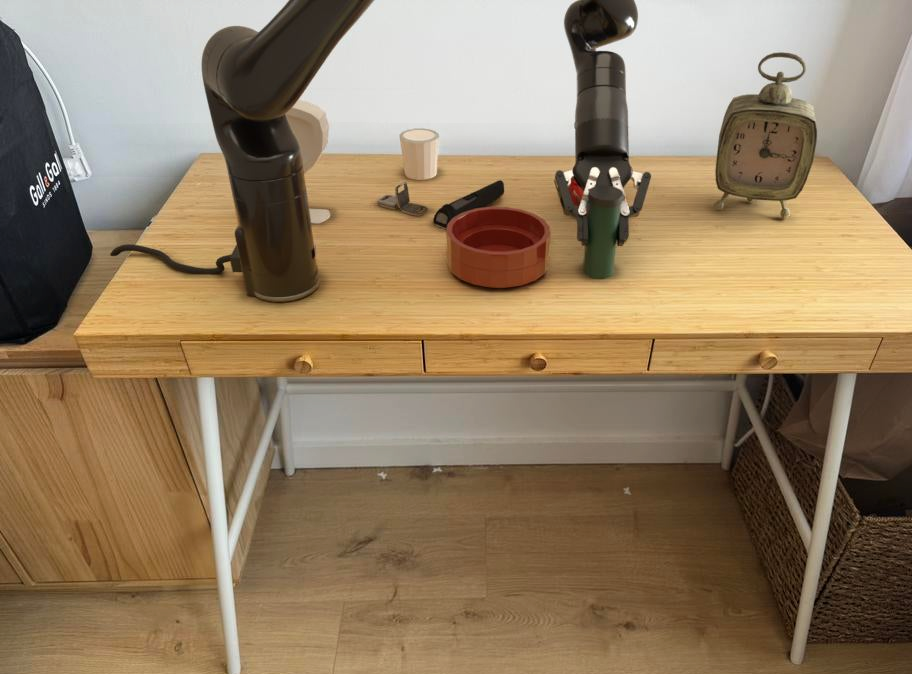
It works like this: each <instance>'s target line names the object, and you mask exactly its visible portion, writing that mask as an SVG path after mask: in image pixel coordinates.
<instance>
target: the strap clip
mask: <svg viewBox="0 0 912 674" xmlns="http://www.w3.org/2000/svg"><path fill="white" fill-rule="evenodd" d="M402 186H403V189H402V190H400V191H399V188H401V187H402ZM410 201H411V200H410V193H409V187H408V183H407V181H402V182H401V183H399V184H397V185H396V186H395V188H394V194H385V195H383V196H382V197H379V198H378V199H377V200H376V203H377V205H379V206H380V207H382V208H385V209H388V210H389V209H390V210H393V211H394V210H398V209H399V210H400V211H401V212H402V213H405V214H408V215H411V216H417V217H418V216H422V215H424V214H425V213H426V212H428V211H429V208H428V207H427V206H425V205H421V204H417V203H413V202H410ZM419 211H420V212H419Z"/></svg>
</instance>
